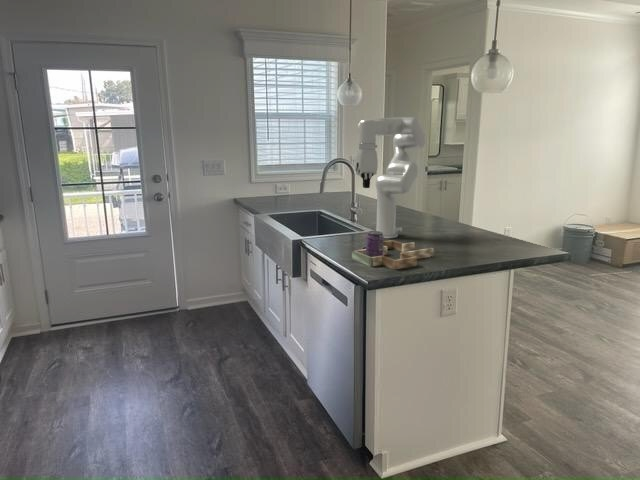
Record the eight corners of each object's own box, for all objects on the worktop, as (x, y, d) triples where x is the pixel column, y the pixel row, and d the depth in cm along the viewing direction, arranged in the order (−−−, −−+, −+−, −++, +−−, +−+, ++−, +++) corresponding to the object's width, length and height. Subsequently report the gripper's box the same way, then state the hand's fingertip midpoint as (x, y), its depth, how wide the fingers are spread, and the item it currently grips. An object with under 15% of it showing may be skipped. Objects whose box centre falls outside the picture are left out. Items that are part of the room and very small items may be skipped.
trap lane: (401, 246, 224) (401, 238, 224) (446, 260, 200) (447, 252, 199) (341, 254, 208) (341, 247, 208) (383, 271, 183) (383, 262, 183)
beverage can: (380, 258, 203) (382, 230, 200) (383, 262, 196) (385, 234, 193) (364, 258, 202) (365, 230, 200) (366, 262, 195) (367, 234, 193)
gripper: (375, 147, 224) (374, 186, 228) (348, 147, 217) (348, 187, 221) (385, 147, 218) (384, 187, 222) (358, 148, 211) (357, 189, 215)
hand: (366, 187), depth 222 cm, fingers closed
